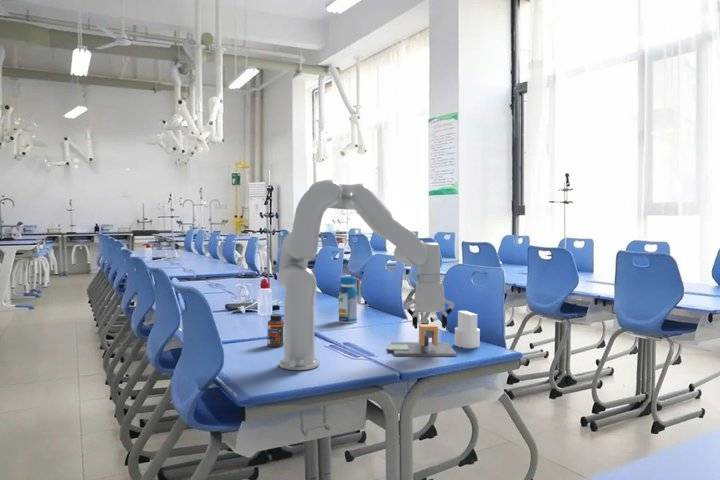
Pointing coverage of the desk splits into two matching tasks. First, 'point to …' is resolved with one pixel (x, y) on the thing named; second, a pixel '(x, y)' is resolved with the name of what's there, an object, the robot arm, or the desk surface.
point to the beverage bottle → (347, 300)
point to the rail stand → (422, 347)
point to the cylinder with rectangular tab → (467, 330)
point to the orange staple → (428, 328)
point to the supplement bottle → (275, 331)
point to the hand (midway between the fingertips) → (429, 327)
